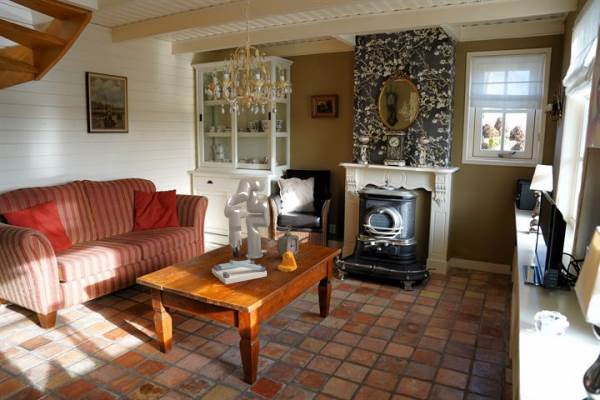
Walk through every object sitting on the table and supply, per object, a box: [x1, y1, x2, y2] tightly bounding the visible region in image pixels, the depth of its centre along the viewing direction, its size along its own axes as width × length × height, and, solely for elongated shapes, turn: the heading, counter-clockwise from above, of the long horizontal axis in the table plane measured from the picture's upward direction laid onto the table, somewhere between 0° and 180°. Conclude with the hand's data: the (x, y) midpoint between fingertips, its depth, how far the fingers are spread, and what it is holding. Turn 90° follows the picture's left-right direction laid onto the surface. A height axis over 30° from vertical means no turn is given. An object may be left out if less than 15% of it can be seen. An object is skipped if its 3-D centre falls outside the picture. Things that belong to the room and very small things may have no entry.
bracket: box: [277, 251, 298, 273], centre depth 302 cm, size 11×7×12 cm, turn 62°
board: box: [211, 257, 268, 285], centre depth 293 cm, size 28×24×6 cm
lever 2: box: [228, 259, 263, 271], centre depth 287 cm, size 22×5×2 cm, turn 121°
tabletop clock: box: [276, 224, 300, 259], centre depth 324 cm, size 14×9×25 cm, turn 143°
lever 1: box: [217, 259, 252, 270], centre depth 300 cm, size 22×5×2 cm, turn 121°
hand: (236, 257), depth 282 cm, fingers closed
